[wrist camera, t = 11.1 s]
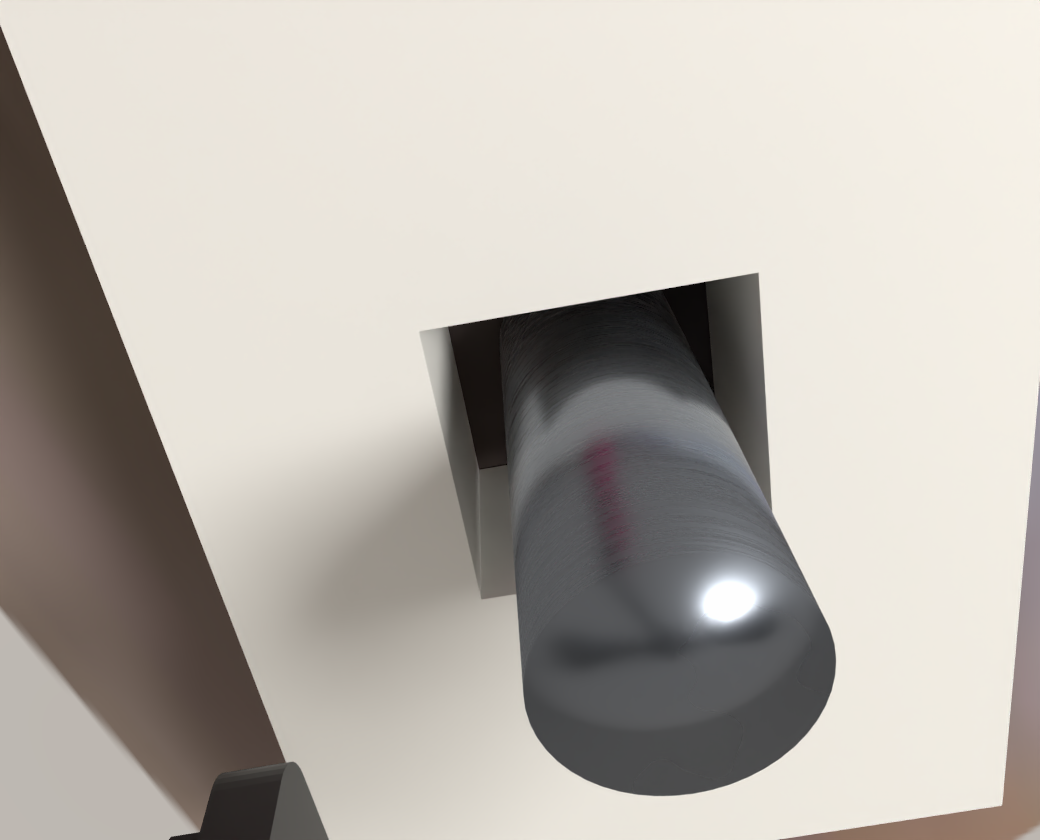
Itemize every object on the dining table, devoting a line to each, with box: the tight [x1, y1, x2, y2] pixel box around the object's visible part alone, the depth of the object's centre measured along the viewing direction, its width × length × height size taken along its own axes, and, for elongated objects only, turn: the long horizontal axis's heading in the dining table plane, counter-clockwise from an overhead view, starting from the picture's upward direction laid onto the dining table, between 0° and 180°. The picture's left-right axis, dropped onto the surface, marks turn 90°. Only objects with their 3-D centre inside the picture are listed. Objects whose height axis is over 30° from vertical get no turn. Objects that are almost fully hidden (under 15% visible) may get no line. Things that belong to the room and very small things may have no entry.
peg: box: [499, 290, 836, 796], centre depth 16 cm, size 4×4×10 cm
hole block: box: [0, 0, 1040, 840], centre depth 18 cm, size 20×14×4 cm
